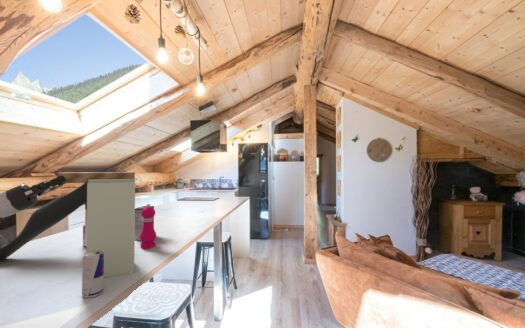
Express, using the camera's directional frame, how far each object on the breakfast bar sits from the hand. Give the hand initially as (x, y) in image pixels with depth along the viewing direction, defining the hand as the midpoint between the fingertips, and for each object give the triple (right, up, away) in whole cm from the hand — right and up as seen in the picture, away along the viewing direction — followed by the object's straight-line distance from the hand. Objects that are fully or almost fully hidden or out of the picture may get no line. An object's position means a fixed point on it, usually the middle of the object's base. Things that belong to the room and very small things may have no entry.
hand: (68, 177), depth 88 cm
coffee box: (+4, -34, +48) cm, 59 cm away
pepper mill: (+12, -34, +33) cm, 49 cm away
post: (+12, -34, +5) cm, 36 cm away
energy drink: (+16, -34, -12) cm, 39 cm away
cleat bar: (+8, -2, +4) cm, 9 cm away
